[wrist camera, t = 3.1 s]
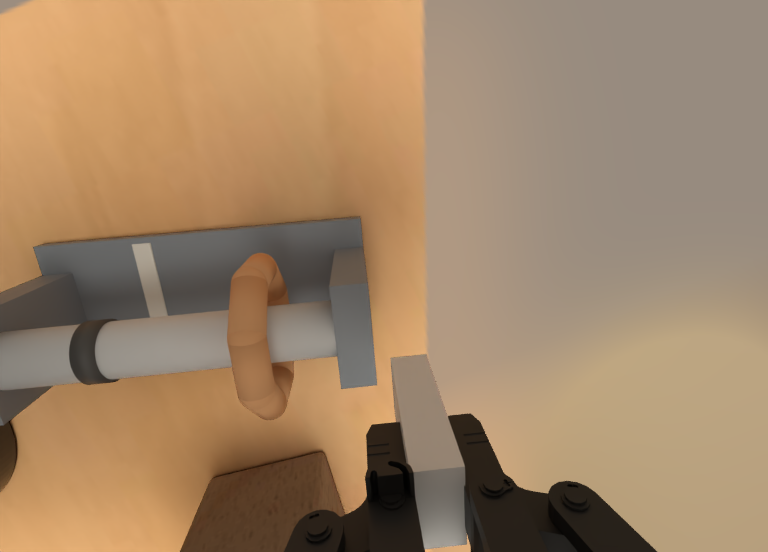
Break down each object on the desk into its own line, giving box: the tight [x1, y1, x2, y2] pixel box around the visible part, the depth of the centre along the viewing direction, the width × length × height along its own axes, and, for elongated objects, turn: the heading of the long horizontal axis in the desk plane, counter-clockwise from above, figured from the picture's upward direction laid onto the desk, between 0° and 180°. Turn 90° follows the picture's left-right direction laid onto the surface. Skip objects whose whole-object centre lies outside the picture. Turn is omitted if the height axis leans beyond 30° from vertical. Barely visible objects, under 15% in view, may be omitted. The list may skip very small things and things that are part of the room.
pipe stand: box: [0, 217, 377, 426], centre depth 27 cm, size 22×10×10 cm, turn 94°
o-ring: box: [227, 253, 294, 420], centre depth 24 cm, size 2×9×9 cm, turn 4°
